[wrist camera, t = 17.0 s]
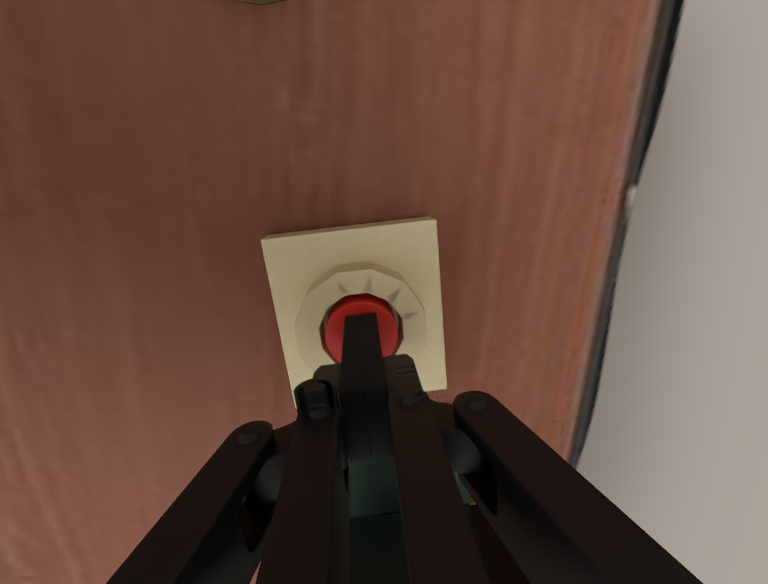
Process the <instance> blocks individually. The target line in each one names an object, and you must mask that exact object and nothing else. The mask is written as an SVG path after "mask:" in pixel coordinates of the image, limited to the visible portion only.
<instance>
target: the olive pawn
mask: <svg viewBox="0 0 768 584" xmlns="http://www.w3.org/2000/svg"><path fill="white" fill-rule="evenodd" d="M239 1H241V2H247V3H254V4H261V5H264V4H269V3H273V2H277V1H282V0H239Z"/></svg>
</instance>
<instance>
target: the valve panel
mask: <svg viewBox="0 0 768 584" xmlns="http://www.w3.org/2000/svg"><path fill="white" fill-rule="evenodd" d="M348 463H349V469H350V475H351V477H350V519H351V518H360V517H369V516H378V515H387V514H397V513H401V507H400V500H399V492H398V486H397V477H396V469H395V461H394V457H390V458H382V459H375V460H368V461H361V462H354V463H350V459H349V460H348ZM453 473H454V476H455V479H456V482H457V485H458V488H459V492H460V495H461V498H462V501H463V504H464V506H469V505H470V494H469V493H468V491H467V490H466V488H465V487H464V485H463V484H462V482H461V481H460V479H459V477H458V474H457V473H455V472H453Z"/></svg>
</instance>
